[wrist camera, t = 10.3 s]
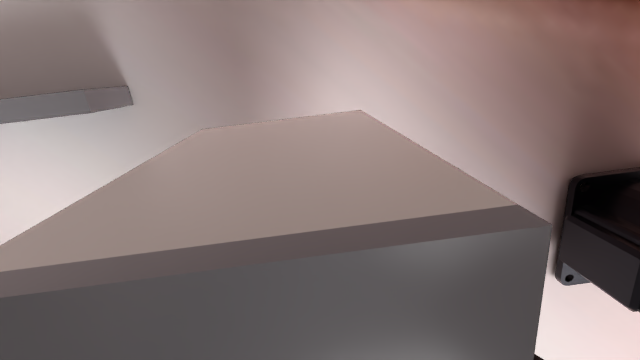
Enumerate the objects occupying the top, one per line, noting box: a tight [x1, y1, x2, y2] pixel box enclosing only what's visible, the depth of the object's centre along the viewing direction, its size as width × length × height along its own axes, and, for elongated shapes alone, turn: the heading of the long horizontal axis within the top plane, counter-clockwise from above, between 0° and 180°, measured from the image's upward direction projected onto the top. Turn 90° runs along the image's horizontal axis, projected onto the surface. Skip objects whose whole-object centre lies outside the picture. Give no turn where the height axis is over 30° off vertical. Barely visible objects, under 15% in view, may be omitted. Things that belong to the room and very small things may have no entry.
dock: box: [0, 86, 133, 124], centre depth 14 cm, size 11×12×3 cm
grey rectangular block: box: [0, 110, 552, 360], centre depth 8 cm, size 5×9×8 cm, turn 6°
